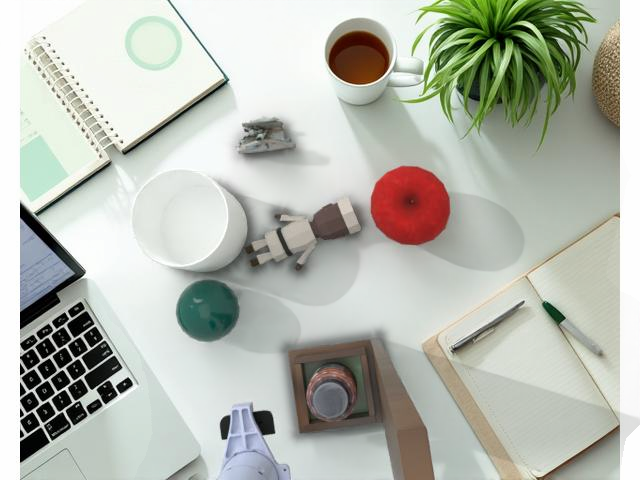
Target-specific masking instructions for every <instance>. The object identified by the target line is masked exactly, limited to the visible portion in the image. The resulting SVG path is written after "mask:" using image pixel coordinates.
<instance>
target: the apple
mask: <svg viewBox="0 0 640 480" xmlns="http://www.w3.org/2000/svg"><path fill="white" fill-rule="evenodd" d="M370 214H371V217H372V220H373V221H374V224H375V227H376V228H377V229H378V230H379V231H380V232H381V233H382V234H383V235H384V236H385V237H386V238H387V239H390V240H392V241H393V242H396V243H397V244H399V245H406V246H407V245H408V246H421V245H423V244H426V243H429V242H432V241H434V240H435V239H436V238H438V237H439V236H440V235H441V234H442V232H444V231H445V230H446V228H447V225H448V222H449V218H450V215H451V198H450V194H449V193H448V191H447V188H446V187H445V184H444V183H443V182H442V180H440V179H439V177H437V176H436V175H435V174H434V173H433V172H432V171H430V170H428V169H426V168H423V167H420V166H417V165H416V166H414V165H400V166H398V167H396V168H393V169H391V170H388V171H387V172H386V173H384V174H383V175H382V176H381V177H380V178H379V179H378V180H377V181H376V182H375V184H374V186H373V189H372V193H371V196H370Z"/></svg>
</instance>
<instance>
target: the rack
mask: <svg viewBox="0 0 640 480" xmlns="http://www.w3.org/2000/svg"><path fill="white" fill-rule="evenodd" d="M287 354H288V360H289V367H290V368H289V369H290V374H291V381H292V388H293V396H294V404H295V411H296V419H297V425H298V432H299V434H306V433H313V432H322V431H330V430H336V429H337V430H338V429H343V428H352V427H358V426H365V425H372V424H373V425H374V424H380V423H382V426H383V430H384V436H385V442H386V446H387V447H386V448H387V451H388V456H389V462H390V466H391V467H390V468H391V472H392V476H393V480H436V477H435V471H434V464H433V458H432V453H431V445H430V438H429V434H428V429H427V427H426V424H425V423H424V420H423V419H422V417H421V415H420V413H419V411H418V409H417V407H416V406H415V404H414V402H413V400H412V398H411V396H410V394H409V392H408V390H407V388H406V386H405V385H404V382H403V381H402V379H401V377H400V375H399V374H398V371H397V370H396V368H395V366H394V363H393V362H392V360H391V358H390V356H389V354H388V352H387V351H386V349H385V347H384V345H383V343H382V341H381V339H380V337H377V338H368V339H361V340H354V341H348V342H341V343H333V344H326V345H321V346H320V345H319V346H314V347H306V348H299V349H291V350H288V351H287ZM327 363H340V364H343V365H345V366H346V367H348V368H349V369H350V370H351V371H352V372H353V374H354V376H355V378H356V381H357V402H356V405H355V407H354V409H353V411H352V412H351V413H350V414H349V415H348V416H347V417H346V418H344V419H342V420H340V421H335V422H328V421H324V420H322V419H319V418H318V417H316V416H315V415H314V414H313V413H312V411H311V410H310V408H309V406H308V404H307V398H306V393H307V388H308V385H309V383H310V381H311V379H312V377H313V375H314V373H315V372H316V371H317V370H318V369H319V368H320V367H321V366H323V365H325V364H327Z"/></svg>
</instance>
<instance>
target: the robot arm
mask: <svg viewBox="0 0 640 480" xmlns="http://www.w3.org/2000/svg"><path fill="white" fill-rule="evenodd" d="M229 413H230V414H226V415H225V416H223V417H222V418H221V419H220V421H219V430H220V439H221V441H226V443H225V447H224V448H225V449H224V452H223V457H222V462H221V466H220V471H219V474H218V476H217V477H216V479H215V480H292V476H291V469H290V468H291V467H290V466H289V465H288V463H279V462H277V460H276V458H275V456H274V454H273V453H272V450H271V449H270V446H269V445H268V443H267V441H266V439H265V437H264V436H270V435H275V434H276V428H275V426H276V425H275V420H274V415H273V413H272V411H271V410H267V409H263V410H255V411H254V402H253V401H249V402H243V403H235V404H233V405H232V406H231V407H230V408H229Z"/></svg>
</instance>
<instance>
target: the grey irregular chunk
mask: <svg viewBox="0 0 640 480" xmlns="http://www.w3.org/2000/svg"><path fill="white" fill-rule="evenodd" d="M283 125H284V122H283V121H280V118H278V117H274V116H273V117H271V118H268V117H266V116H263V115H262V118H257V119H255V120H251V119H250V121H248V122H242V123H241V126H242V129H243V130H244V133H247V135H244V136H243V137H242V138H241V139H238V143H237V145H238V146H237V145H236V146H235V147H236V151H237V153H238V154H241V155H242V154H254V153H262V152H272V151H277V150H278V151H279V150H286V149H294V148H297V146H296V144H297V143H296V142H293V141H292V138H287V137H286V138H285V133H286V131H285V128H284V126H283Z"/></svg>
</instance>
